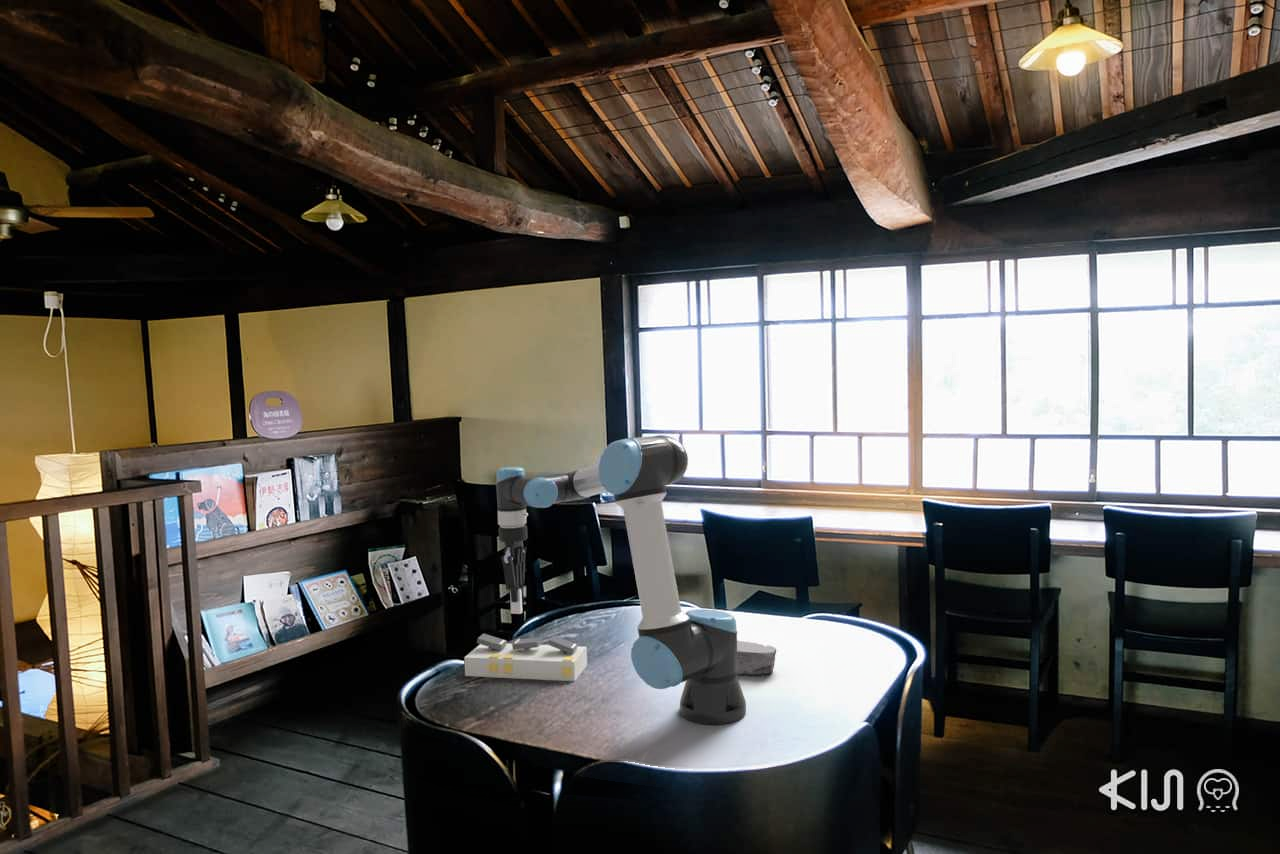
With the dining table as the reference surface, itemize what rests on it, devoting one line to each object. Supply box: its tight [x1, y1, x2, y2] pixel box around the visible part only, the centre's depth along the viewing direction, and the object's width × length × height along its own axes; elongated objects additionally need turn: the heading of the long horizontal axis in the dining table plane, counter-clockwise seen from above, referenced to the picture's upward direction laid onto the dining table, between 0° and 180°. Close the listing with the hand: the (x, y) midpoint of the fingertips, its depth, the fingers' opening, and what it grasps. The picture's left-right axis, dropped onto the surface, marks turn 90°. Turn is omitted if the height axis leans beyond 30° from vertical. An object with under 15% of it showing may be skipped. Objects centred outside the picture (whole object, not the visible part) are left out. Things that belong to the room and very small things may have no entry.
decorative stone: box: [737, 639, 777, 677], centre depth 212 cm, size 15×7×10 cm
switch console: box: [463, 643, 588, 682], centre depth 216 cm, size 12×30×6 cm, turn 78°
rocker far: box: [476, 633, 508, 651], centre depth 219 cm, size 4×7×2 cm, turn 78°
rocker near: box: [547, 634, 579, 654], centre depth 215 cm, size 4×7×2 cm, turn 78°
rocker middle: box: [511, 636, 543, 649], centre depth 217 cm, size 4×7×2 cm, turn 78°
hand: (516, 612), depth 217 cm, fingers closed
